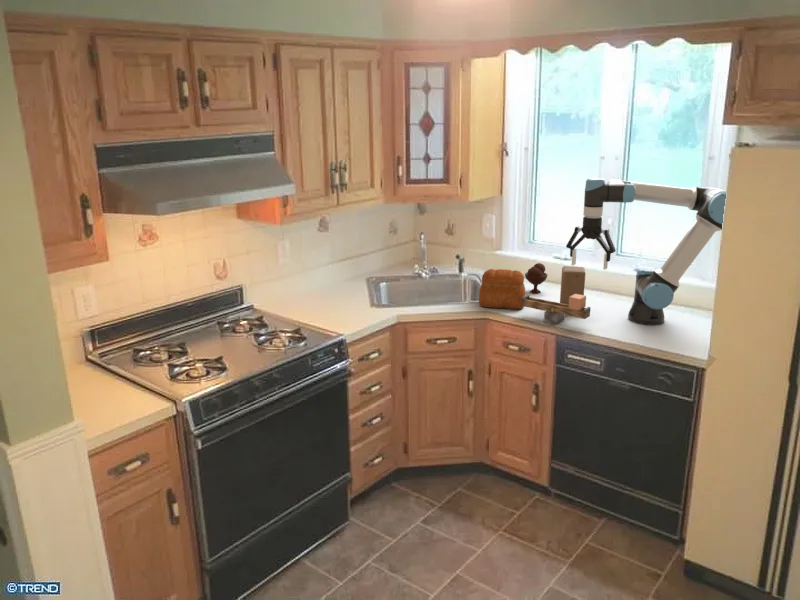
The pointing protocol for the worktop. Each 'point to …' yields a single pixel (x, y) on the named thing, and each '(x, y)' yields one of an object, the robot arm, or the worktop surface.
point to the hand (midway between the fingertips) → (589, 266)
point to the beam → (554, 310)
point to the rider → (577, 302)
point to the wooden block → (571, 283)
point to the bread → (502, 289)
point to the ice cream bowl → (536, 276)
